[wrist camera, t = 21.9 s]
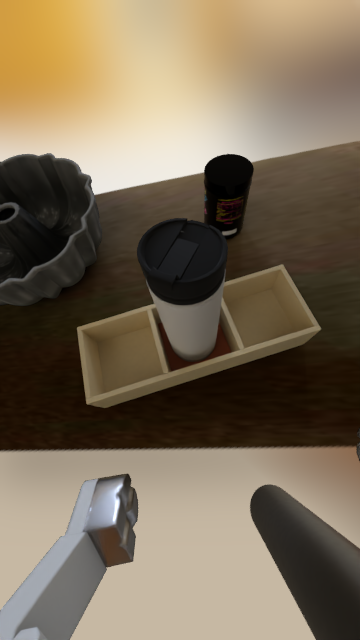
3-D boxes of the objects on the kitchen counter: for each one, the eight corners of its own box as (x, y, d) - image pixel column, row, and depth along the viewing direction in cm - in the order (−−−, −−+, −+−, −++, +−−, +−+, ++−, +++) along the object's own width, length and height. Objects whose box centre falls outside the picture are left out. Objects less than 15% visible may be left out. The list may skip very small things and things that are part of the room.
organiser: (303, 344, 33) (321, 329, 28) (104, 408, 32) (86, 404, 27) (272, 286, 37) (282, 264, 32) (94, 341, 36) (76, 327, 31)
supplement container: (232, 208, 45) (240, 148, 35) (249, 234, 42) (262, 177, 32) (198, 219, 44) (197, 162, 35) (212, 246, 42) (215, 192, 32)
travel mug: (162, 354, 34) (114, 267, 16) (182, 314, 36) (160, 197, 18) (204, 372, 32) (205, 300, 14) (222, 329, 34) (243, 219, 16)
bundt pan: (25, 357, 36) (-34, 333, 27) (-53, 268, 45) (-118, 228, 36) (147, 244, 43) (131, 194, 34) (58, 186, 52) (27, 134, 42)
